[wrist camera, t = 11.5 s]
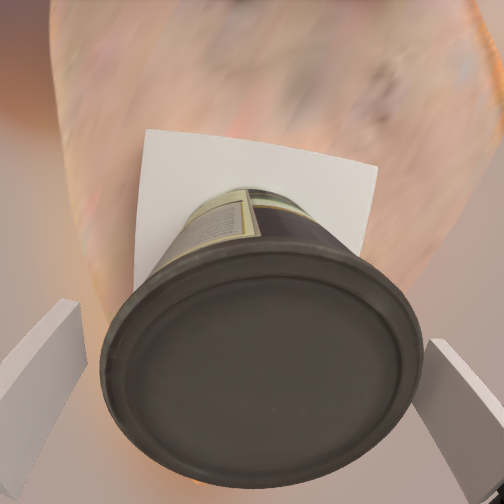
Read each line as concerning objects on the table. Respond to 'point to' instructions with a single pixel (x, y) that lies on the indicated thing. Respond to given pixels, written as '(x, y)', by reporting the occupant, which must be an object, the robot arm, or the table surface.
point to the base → (242, 175)
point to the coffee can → (260, 349)
